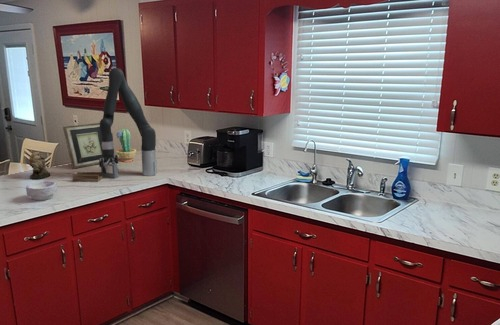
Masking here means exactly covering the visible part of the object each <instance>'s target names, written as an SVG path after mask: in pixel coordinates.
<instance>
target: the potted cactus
mask: <svg viewBox="0 0 500 325" xmlns="http://www.w3.org/2000/svg"><path fill="white" fill-rule="evenodd" d="M116 138H117V139H118V140H119V142H120V146H121V149H117V150H116V155H117V156H118V158H119V160H120V161H121V162H124V163H125V162H126V163H128V162H132V161H133V159H134V158H135V155H136V153H137V149H135V148H132V147H131V132H130V131H129V130H128V129H127V128H126V129H125V128H122V129H121V130H118V131H117V133H116Z"/></svg>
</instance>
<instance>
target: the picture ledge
mask: <svg viewBox="0 0 500 325" xmlns="http://www.w3.org/2000/svg"><path fill="white" fill-rule="evenodd" d="M103 178H104V177H103V176H102V172H101V171H77V172H76V174H72V182H73V183H79V182H80V183H83V182H84V183H88V182H89V183H90V182H91V183H93V182H94V183H97V182H98V183H99V182H100V181H101V180H102V179H103Z"/></svg>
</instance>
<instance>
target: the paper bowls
mask: <svg viewBox="0 0 500 325" xmlns="http://www.w3.org/2000/svg"><path fill="white" fill-rule="evenodd" d="M25 191H26V196H28V197H30V198H31V199H32V200H34V201H47V200H49V199H51V198H53V197H54V194H55V193H57V192H58V187H57V183H56V182H55V181H51V180H50V181H49V180H45V181H43V180H42V181H36V182H33V183H29V184H27V185H26V186H25Z"/></svg>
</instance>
